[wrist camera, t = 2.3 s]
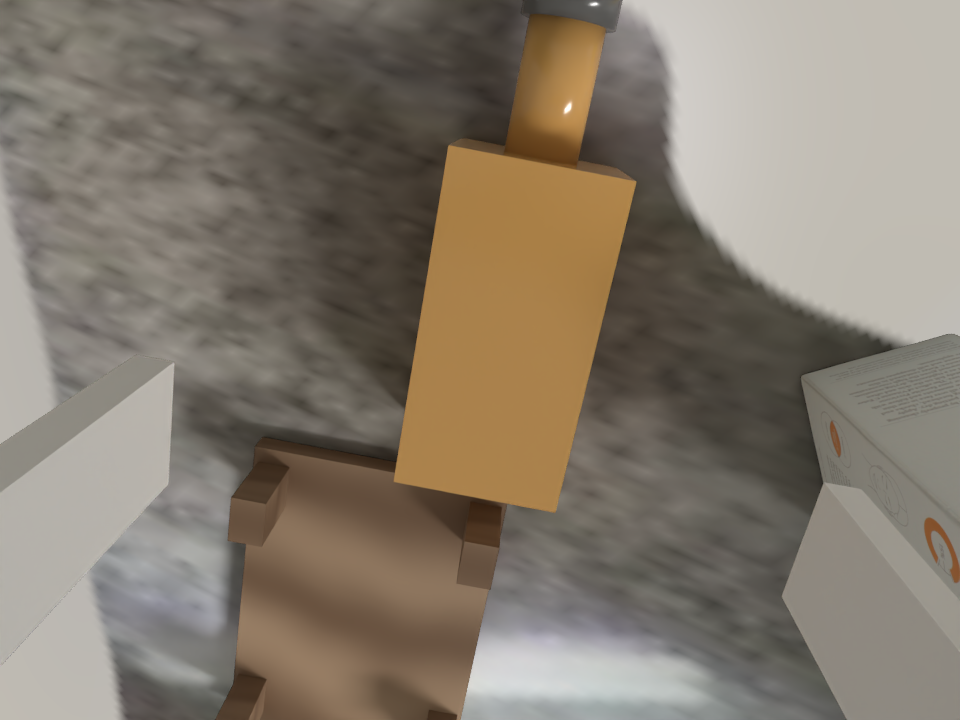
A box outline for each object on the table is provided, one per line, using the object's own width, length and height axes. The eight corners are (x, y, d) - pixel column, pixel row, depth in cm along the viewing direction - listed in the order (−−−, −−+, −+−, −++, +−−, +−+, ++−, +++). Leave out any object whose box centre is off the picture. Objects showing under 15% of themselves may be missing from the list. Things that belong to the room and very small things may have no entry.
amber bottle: (550, 443, 33) (555, 512, 28) (415, 417, 33) (393, 481, 28) (652, 5, 28) (686, -21, 22) (491, -26, 28) (482, -61, 22)
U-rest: (262, 436, 34) (227, 481, 30) (509, 483, 34) (507, 533, 30) (237, 701, 39) (204, 769, 35) (453, 741, 39) (445, 815, 35)
